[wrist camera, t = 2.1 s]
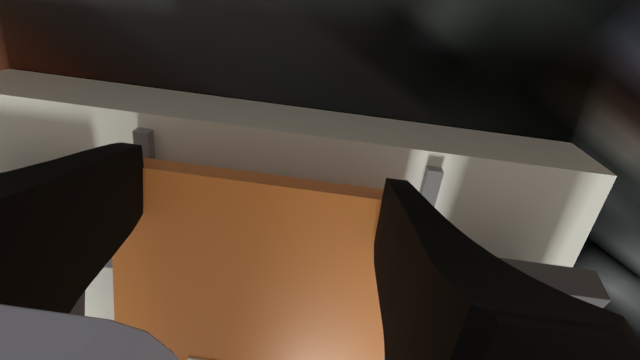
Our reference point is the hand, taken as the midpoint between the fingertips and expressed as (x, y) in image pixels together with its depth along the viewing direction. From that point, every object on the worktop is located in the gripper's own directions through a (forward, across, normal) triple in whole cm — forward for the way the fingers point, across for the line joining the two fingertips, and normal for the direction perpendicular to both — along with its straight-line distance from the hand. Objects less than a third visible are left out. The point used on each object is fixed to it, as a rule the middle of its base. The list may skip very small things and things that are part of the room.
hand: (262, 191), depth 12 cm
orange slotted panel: (0, 0, +4) cm, 4 cm away
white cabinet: (+5, 0, +4) cm, 6 cm away
